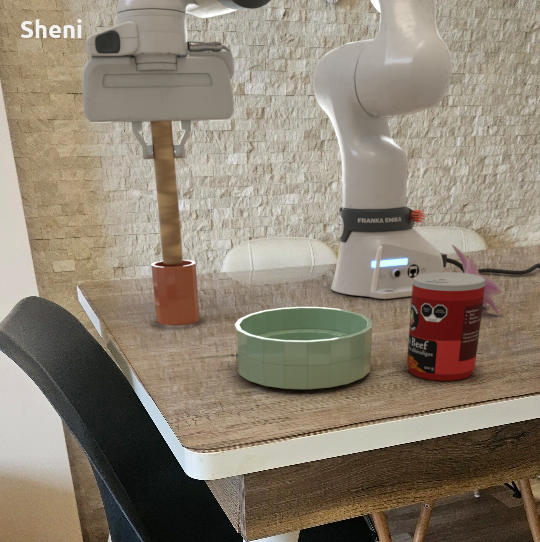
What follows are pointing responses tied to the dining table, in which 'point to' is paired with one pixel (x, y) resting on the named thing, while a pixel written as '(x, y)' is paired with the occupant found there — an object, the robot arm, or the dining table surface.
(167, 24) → the robot arm
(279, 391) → the dining table surface
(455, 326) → the canned food
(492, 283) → the lily
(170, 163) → the stick
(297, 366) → the bowl
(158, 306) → the holder
